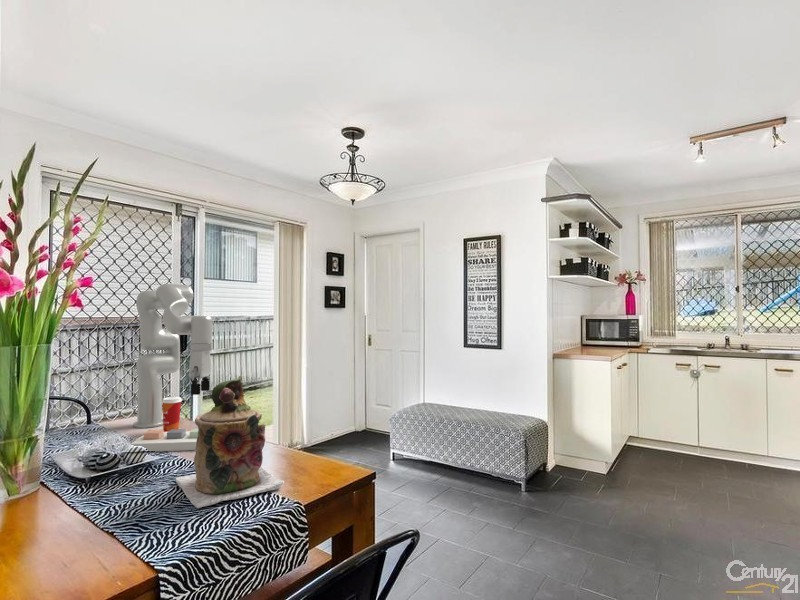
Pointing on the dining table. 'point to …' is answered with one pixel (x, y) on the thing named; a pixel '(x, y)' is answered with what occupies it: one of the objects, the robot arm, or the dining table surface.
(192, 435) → the sage key
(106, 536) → the dining table surface
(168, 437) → the charcoal key
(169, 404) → the paper cup
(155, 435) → the terracotta key
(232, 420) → the cookie jar
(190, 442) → the keypad
